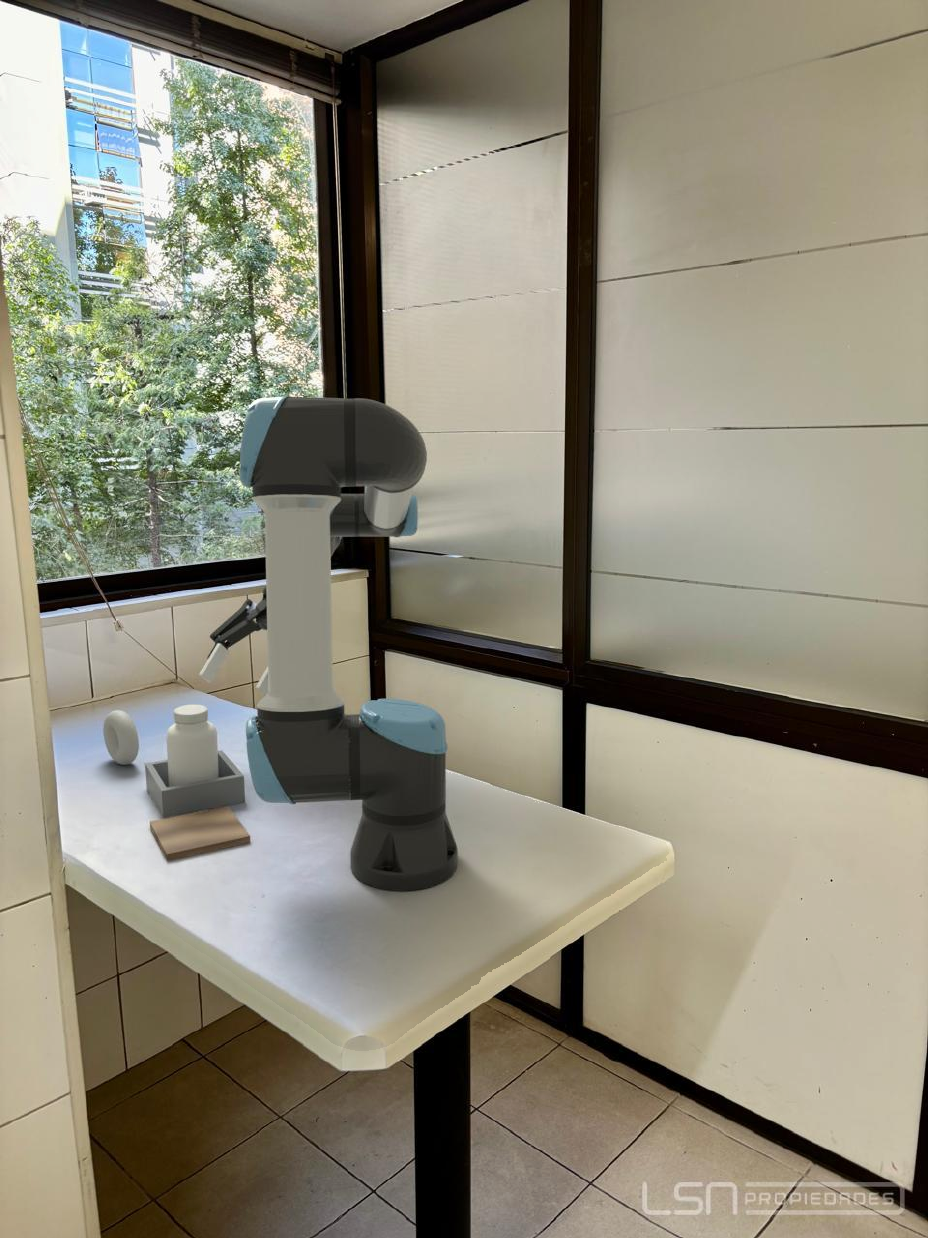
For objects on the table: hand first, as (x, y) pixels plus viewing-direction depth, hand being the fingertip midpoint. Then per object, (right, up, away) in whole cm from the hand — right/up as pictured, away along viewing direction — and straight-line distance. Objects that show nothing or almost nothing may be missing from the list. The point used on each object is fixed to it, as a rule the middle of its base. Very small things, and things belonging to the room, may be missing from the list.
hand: (232, 685), depth 155 cm
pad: (0, -21, -19) cm, 28 cm away
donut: (-22, -15, +9) cm, 28 cm away
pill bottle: (-5, -18, -4) cm, 19 cm away
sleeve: (-5, -18, -4) cm, 19 cm away
